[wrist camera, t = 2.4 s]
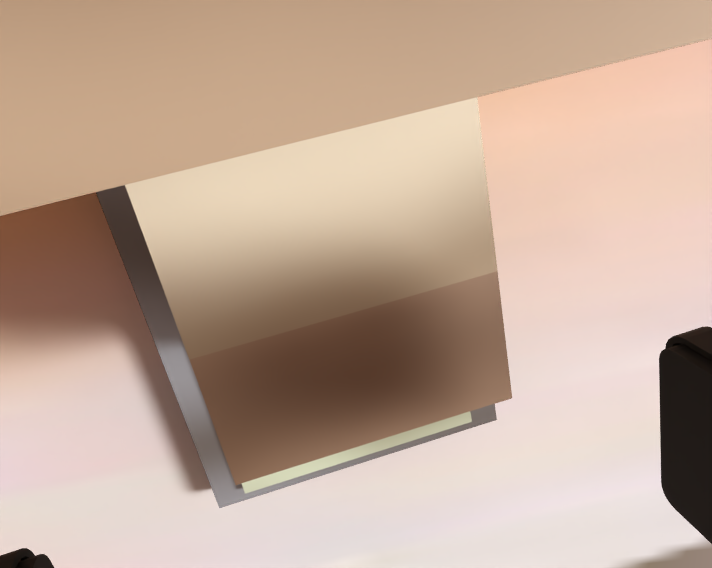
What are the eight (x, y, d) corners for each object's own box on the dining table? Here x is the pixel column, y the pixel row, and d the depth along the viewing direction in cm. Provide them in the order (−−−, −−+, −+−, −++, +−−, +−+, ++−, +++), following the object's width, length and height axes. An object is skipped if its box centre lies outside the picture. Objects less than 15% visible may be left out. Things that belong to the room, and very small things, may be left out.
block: (-22, -396, 11) (-243, -808, 6) (295, -437, 12) (369, -837, 6) (227, 347, 18) (235, 485, 12) (422, 291, 18) (512, 398, 13)
